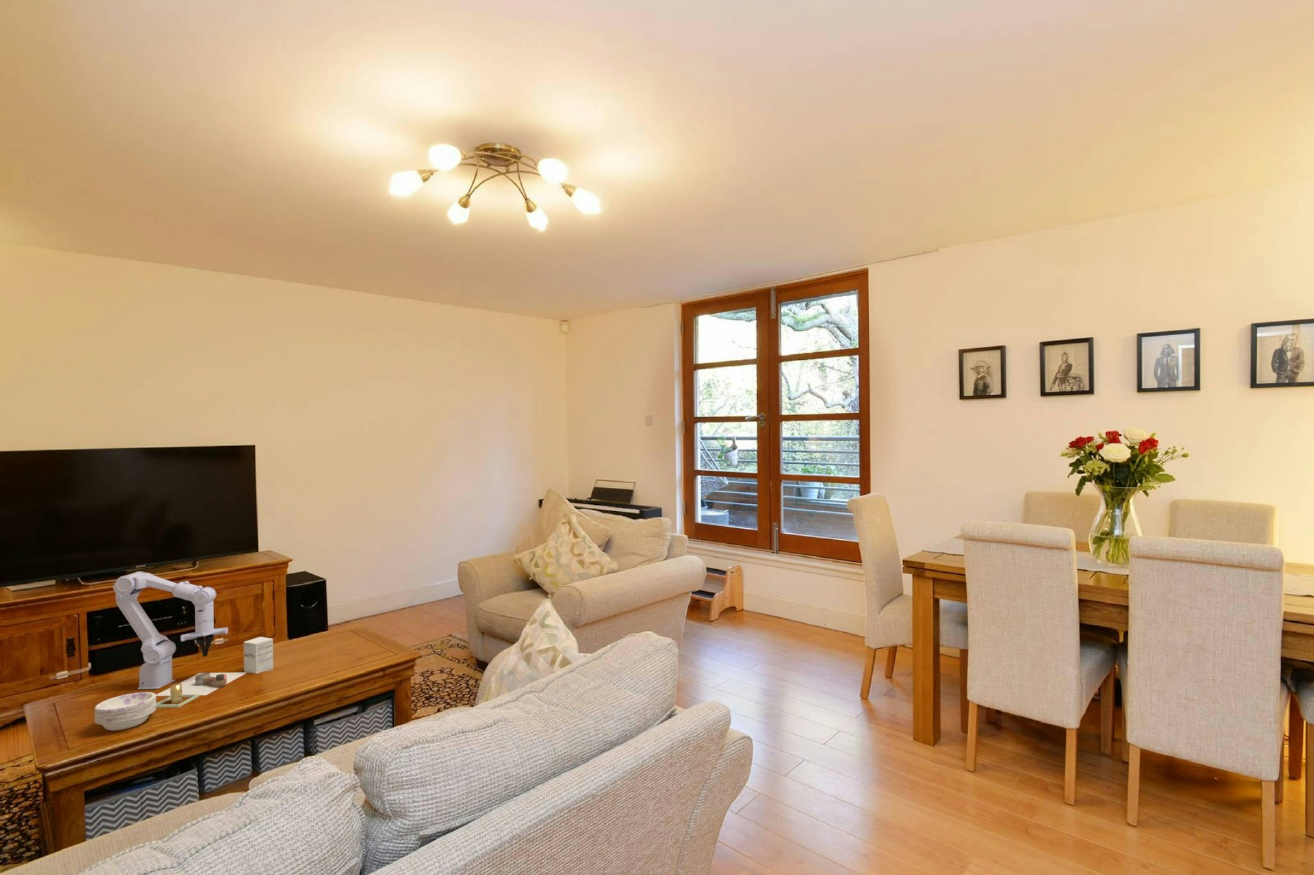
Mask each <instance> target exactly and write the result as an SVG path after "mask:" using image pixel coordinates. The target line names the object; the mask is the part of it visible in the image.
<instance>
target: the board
mask: <svg viewBox="0 0 1314 875" xmlns="http://www.w3.org/2000/svg"><path fill="white" fill-rule="evenodd" d="M202 673H203V672H199V673H197V674H195V675H194V676H190V677H189V678H187V679H185V680H183V681H181V682H180V683H181V684H182V694H199V696H207V695H209V694H211V693H213V692H215V691H217V690H218V689H220V688H221V687H216V686H210V685H204V684H203V685H196V684H195V676H196V675H198V674H202ZM209 673H210V677H216V675H219V674H226V675H227V683H226V685H227V684H229V683H231V682H233V681H235V680H236V679H238V678H240V677H242V676H244V675H245V674H247V673H248V672H244V671H243V672H242V671H241V672H209ZM170 696H171V694H170V687H169V688H167V689H165V690H163V691H161V692H159V693H157V694H156V697H170Z"/></svg>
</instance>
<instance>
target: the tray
mask: <svg viewBox="0 0 1314 875" xmlns="http://www.w3.org/2000/svg"><path fill="white" fill-rule="evenodd" d="M199 697H200V695H199V694H182V698H187V699H186V700H184V701H182V702H180V703H176V704H171V703H170V704H165V703H166V702H167V701H169V700H170V701H171V696H167V698H164V699H162V700H160V701H159V702H156V709H158V708H180V707H182V706H184V705H185V704H188V703H190V702H191V701H193V700H195V699H197V698H199Z"/></svg>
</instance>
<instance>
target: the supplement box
mask: <svg viewBox="0 0 1314 875" xmlns="http://www.w3.org/2000/svg"><path fill="white" fill-rule="evenodd" d="M272 670H274V639H273V638H271V637H270V638H269V637H265V636H258V637H255V638H252V639H249V640H246V641H243V672H247V673H251V674H256V675H257V674H260V673H263V672H270V671H272Z"/></svg>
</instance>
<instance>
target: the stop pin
mask: <svg viewBox="0 0 1314 875" xmlns="http://www.w3.org/2000/svg"><path fill="white" fill-rule="evenodd" d="M169 688H170V694H171V699H170V705H171V704H180V703H182V702H184V701H183V700H184V699H183V697H182V684H181V682H179V683H174V684H171V685H170V686H169Z"/></svg>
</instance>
